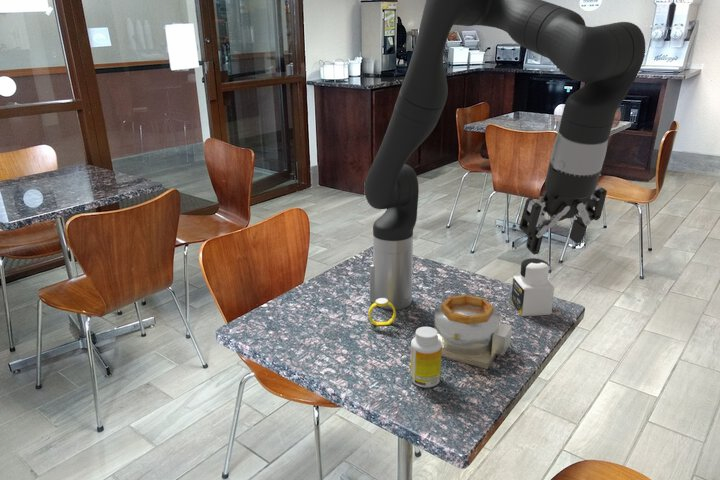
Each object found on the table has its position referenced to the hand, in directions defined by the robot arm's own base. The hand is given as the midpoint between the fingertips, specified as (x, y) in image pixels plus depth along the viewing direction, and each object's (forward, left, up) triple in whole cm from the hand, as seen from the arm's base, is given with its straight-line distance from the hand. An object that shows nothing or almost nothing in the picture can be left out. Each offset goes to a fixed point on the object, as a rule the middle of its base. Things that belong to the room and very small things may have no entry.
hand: (553, 246), depth 93 cm
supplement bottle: (-18, -11, -27) cm, 34 cm away
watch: (-35, +4, -27) cm, 44 cm away
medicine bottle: (-8, +27, -27) cm, 39 cm away
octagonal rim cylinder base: (-16, +5, -26) cm, 31 cm away
